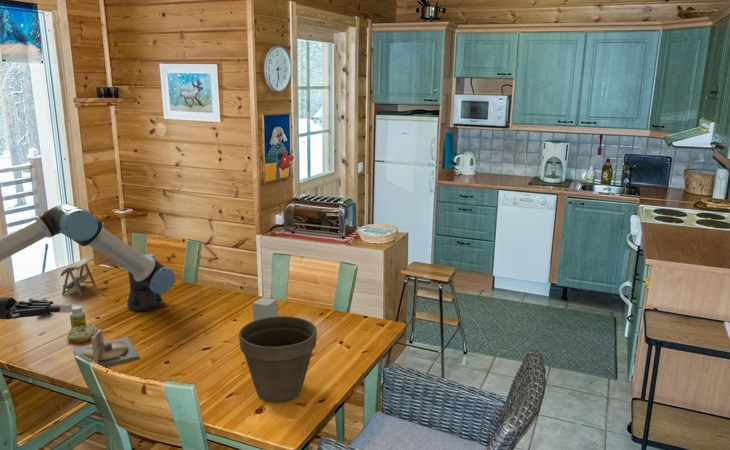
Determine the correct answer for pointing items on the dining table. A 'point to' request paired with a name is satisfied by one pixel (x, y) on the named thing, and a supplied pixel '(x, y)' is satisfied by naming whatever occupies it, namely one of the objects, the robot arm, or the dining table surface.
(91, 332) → the decorated donut
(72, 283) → the swing bench
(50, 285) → the dining table surface
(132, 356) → the dial plate
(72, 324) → the supplement bottle
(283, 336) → the plant pot
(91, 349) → the dial
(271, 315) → the supplement box
